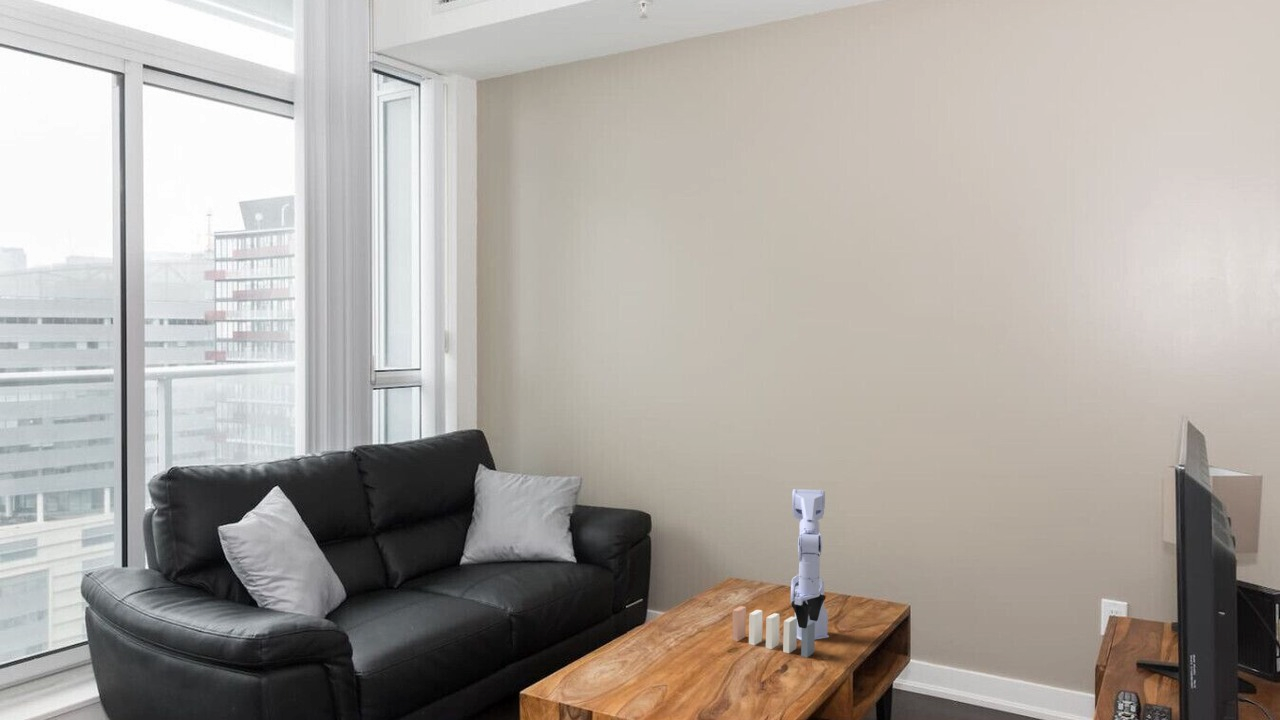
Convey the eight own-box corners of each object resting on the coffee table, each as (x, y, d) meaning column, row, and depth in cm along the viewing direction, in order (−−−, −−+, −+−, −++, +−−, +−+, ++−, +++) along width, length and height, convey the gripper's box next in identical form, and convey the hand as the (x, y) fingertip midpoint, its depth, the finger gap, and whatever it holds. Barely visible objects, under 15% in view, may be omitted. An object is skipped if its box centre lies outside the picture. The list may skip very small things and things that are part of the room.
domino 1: (745, 636, 277) (745, 607, 277) (737, 641, 273) (737, 611, 273) (740, 635, 279) (740, 606, 278) (732, 640, 274) (732, 610, 274)
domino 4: (796, 648, 268) (797, 617, 268) (788, 653, 264) (789, 622, 264) (790, 647, 269) (791, 616, 269) (783, 652, 265) (783, 620, 265)
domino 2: (762, 640, 274) (762, 610, 274) (754, 645, 270) (754, 614, 270) (756, 639, 275) (757, 609, 275) (748, 644, 271) (749, 613, 271)
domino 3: (779, 644, 271) (779, 614, 271) (771, 649, 267) (771, 618, 267) (773, 643, 272) (774, 612, 272) (765, 648, 268) (766, 617, 268)
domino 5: (814, 652, 265) (814, 621, 265) (807, 657, 261) (807, 625, 261) (808, 651, 266) (808, 620, 266) (801, 656, 262) (801, 624, 262)
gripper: (806, 568, 271) (805, 614, 271) (785, 579, 259) (784, 628, 260) (829, 572, 267) (828, 619, 268) (808, 584, 255) (807, 633, 256)
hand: (808, 623), depth 263 cm, fingers open, 7 cm apart
